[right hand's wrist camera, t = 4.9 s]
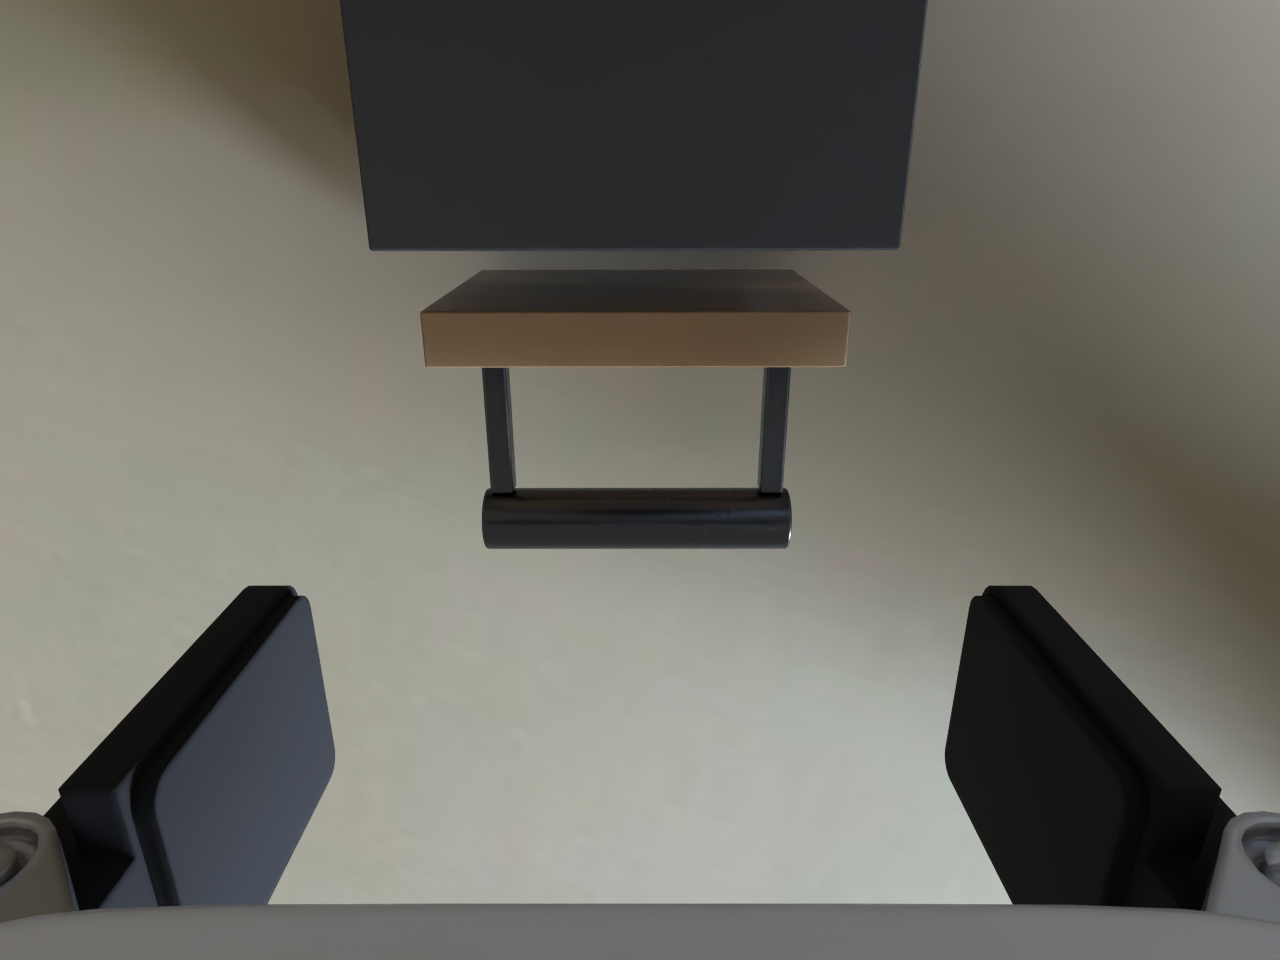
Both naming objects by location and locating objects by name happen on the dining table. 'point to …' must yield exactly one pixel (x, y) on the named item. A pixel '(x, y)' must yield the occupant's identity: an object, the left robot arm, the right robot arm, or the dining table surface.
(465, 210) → the cabinet
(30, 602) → the dining table surface
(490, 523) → the drawer
